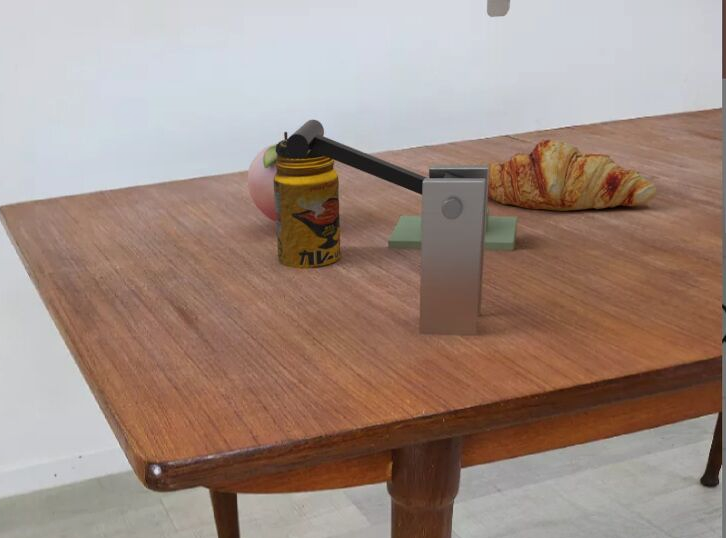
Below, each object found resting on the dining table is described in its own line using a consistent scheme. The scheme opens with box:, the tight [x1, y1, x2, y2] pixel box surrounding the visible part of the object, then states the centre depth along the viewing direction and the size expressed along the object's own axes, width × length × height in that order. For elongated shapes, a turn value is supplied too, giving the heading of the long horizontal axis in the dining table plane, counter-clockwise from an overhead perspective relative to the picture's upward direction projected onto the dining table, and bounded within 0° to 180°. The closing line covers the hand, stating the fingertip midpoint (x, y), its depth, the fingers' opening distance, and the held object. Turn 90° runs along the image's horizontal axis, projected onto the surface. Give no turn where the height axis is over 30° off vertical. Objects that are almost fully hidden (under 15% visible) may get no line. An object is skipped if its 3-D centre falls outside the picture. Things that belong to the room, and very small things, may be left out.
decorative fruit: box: [246, 131, 288, 223], centre depth 102 cm, size 9×8×10 cm
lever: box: [286, 119, 458, 196], centre depth 70 cm, size 14×6×2 cm, turn 77°
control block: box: [387, 206, 518, 251], centre depth 94 cm, size 12×9×4 cm
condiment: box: [274, 138, 342, 270], centre depth 89 cm, size 7×8×12 cm
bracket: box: [418, 164, 489, 337], centre depth 72 cm, size 10×8×13 cm
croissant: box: [488, 139, 658, 212], centre depth 106 cm, size 21×10×8 cm, turn 66°
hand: (498, 15), depth 82 cm, fingers closed
